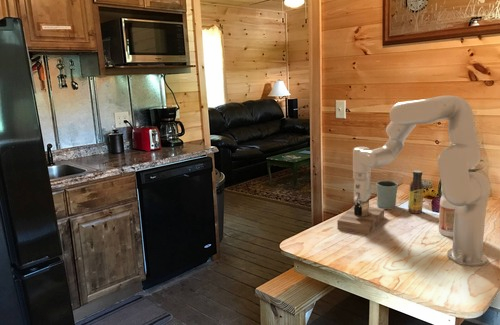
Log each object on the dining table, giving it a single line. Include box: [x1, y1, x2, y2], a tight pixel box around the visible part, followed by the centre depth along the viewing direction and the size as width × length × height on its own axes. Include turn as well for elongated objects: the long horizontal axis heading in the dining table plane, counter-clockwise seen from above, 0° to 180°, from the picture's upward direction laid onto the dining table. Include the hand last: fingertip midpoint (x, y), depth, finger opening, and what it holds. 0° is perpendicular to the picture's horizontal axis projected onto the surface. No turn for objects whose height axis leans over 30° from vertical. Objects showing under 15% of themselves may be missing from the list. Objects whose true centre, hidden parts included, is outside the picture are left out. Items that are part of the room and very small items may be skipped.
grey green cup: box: [376, 180, 399, 210], centre depth 198 cm, size 10×10×12 cm
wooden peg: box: [355, 200, 370, 217], centre depth 179 cm, size 6×6×10 cm
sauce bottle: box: [407, 170, 425, 214], centre depth 187 cm, size 7×6×20 cm
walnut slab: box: [336, 205, 385, 235], centre depth 180 cm, size 22×14×4 cm, turn 146°
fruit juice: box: [438, 185, 455, 238], centre depth 161 cm, size 9×9×28 cm
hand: (361, 211), depth 179 cm, fingers open, 9 cm apart
